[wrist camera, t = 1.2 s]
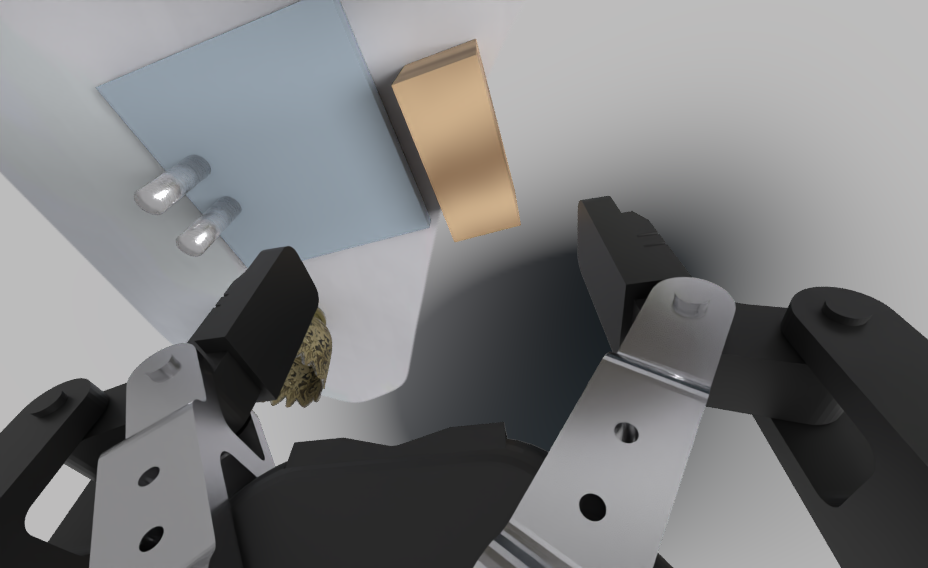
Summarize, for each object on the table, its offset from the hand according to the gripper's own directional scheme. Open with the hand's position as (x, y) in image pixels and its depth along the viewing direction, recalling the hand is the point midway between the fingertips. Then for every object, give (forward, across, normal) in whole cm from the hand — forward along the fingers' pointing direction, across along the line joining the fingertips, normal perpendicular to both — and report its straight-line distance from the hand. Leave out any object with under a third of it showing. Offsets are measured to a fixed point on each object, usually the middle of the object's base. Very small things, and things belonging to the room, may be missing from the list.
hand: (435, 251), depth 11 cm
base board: (+18, +12, +2) cm, 21 cm away
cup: (+18, +17, +17) cm, 30 cm away
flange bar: (+18, 0, +2) cm, 18 cm away
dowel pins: (+17, +18, +3) cm, 24 cm away
